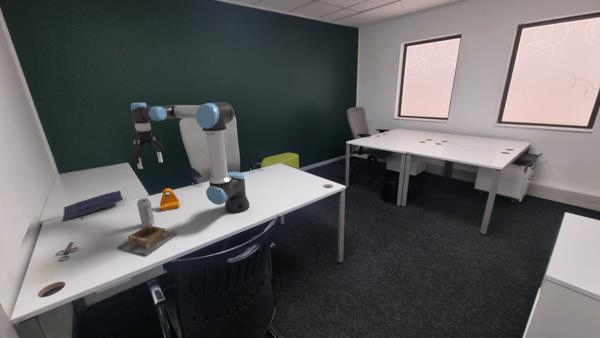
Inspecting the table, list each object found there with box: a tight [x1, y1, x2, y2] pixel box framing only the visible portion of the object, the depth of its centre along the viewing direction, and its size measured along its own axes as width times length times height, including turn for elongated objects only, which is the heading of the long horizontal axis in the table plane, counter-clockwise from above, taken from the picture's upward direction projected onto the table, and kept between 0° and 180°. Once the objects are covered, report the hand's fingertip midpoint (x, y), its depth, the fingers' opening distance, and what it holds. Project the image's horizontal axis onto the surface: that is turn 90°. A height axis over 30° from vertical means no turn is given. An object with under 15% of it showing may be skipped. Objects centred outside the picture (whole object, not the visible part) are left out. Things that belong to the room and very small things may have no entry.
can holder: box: [117, 225, 178, 257], centre depth 119 cm, size 18×18×5 cm
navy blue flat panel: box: [61, 190, 124, 222], centre depth 156 cm, size 24×30×4 cm
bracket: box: [159, 188, 180, 212], centre depth 153 cm, size 11×7×12 cm, turn 116°
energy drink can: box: [136, 197, 155, 228], centre depth 133 cm, size 6×6×15 cm
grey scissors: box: [55, 241, 79, 262], centre depth 114 cm, size 8×18×2 cm, turn 31°
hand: (151, 165), depth 147 cm, fingers open, 13 cm apart
